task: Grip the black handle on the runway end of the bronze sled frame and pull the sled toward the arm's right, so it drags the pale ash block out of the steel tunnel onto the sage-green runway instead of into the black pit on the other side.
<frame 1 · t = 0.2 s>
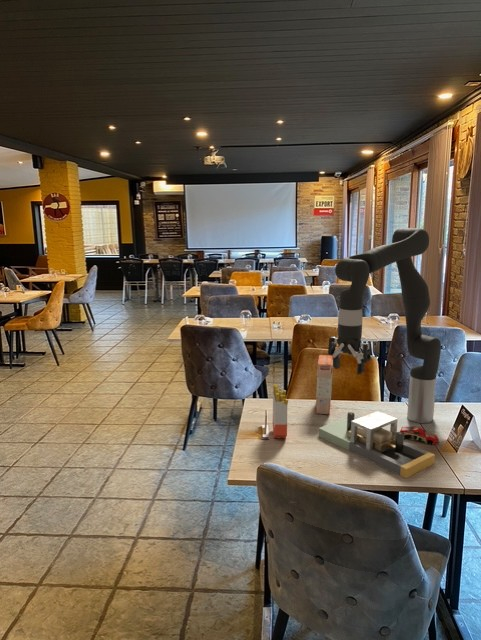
hand: (348, 371, 155), 28 cm above the table, tool pointing down, fingers open, 8 cm apart
race car: (418, 440, 169), on the table
ash block: (373, 435, 161), on the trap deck, point 5 cm above the table
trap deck: (372, 448, 162), on the table
steel tunnel: (374, 430, 161), on the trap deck, point 7 cm above the table
sled frame: (373, 431, 161), point 6 cm above the table, slide at 0.0 cm
cracker box: (323, 408, 197), on the table
french fries container: (279, 435, 173), on the table
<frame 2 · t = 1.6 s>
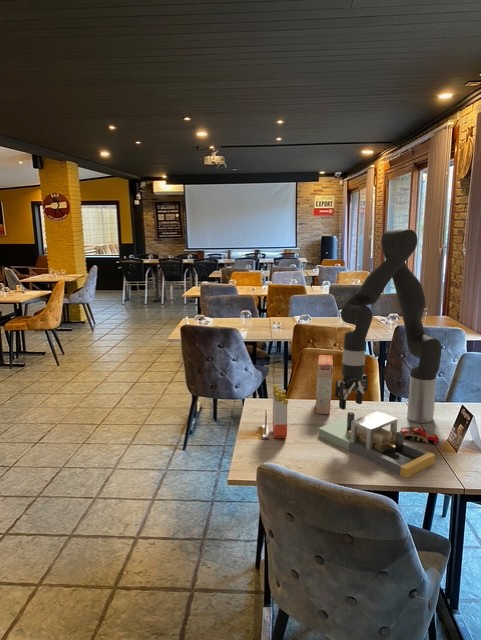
hand: (350, 406, 168), 12 cm above the table, tool pointing down, fingers open, 8 cm apart
nothing on the table moved.
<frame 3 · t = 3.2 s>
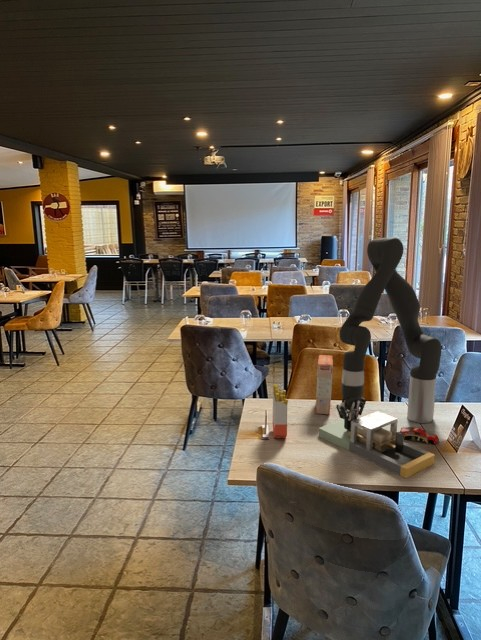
hand: (350, 428, 169), 4 cm above the table, tool pointing down, fingers closed on sled frame, 2 cm apart
sled frame: (373, 431, 161), point 6 cm above the table, slide at 0.0 cm, touching gripper
everything else where it was.
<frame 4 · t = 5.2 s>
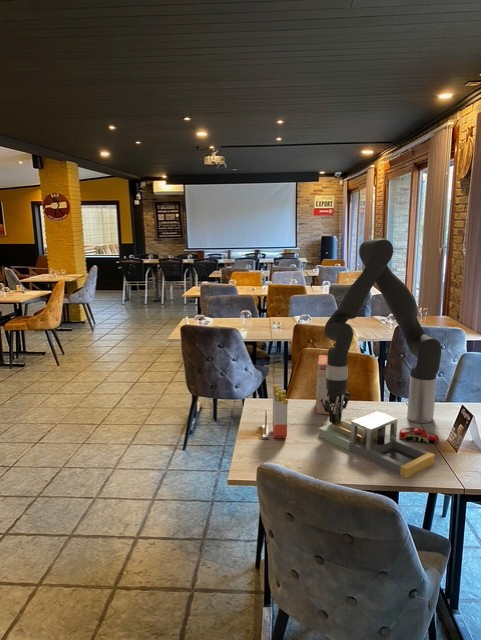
hand: (335, 421, 175), 4 cm above the table, tool pointing down, fingers closed on sled frame, 2 cm apart
ash block: (358, 428, 166), on the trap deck, point 5 cm above the table
sled frame: (357, 424, 166), point 6 cm above the table, slide at 7.0 cm, touching gripper
everything else where it was.
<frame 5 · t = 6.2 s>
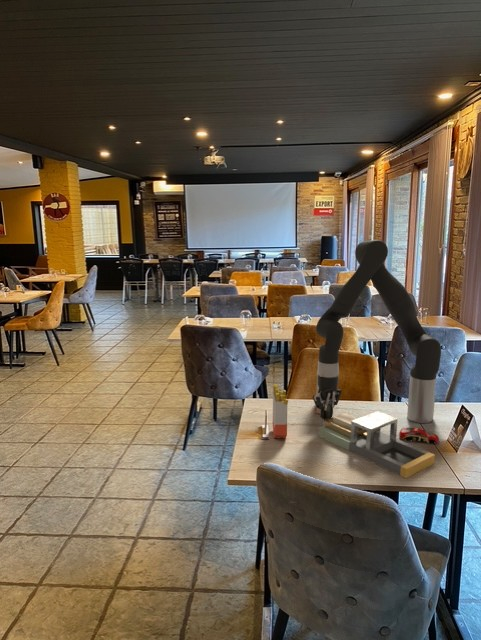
hand: (326, 417, 178), 4 cm above the table, tool pointing down, fingers closed on sled frame, 2 cm apart
ash block: (349, 424, 169), on the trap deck, point 5 cm above the table, touching sled frame
sled frame: (348, 420, 170), point 6 cm above the table, slide at 11.2 cm, touching ash block, gripper
everything else where it was.
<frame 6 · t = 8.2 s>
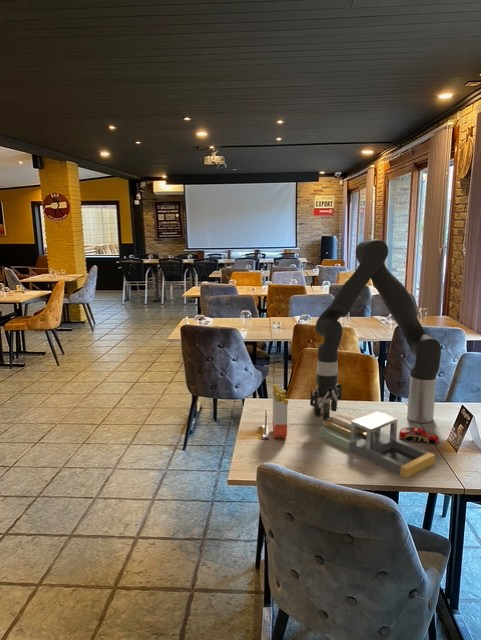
hand: (325, 413, 178), 5 cm above the table, tool pointing down, fingers open, 8 cm apart
sled frame: (347, 420, 170), point 6 cm above the table, slide at 11.5 cm, touching ash block
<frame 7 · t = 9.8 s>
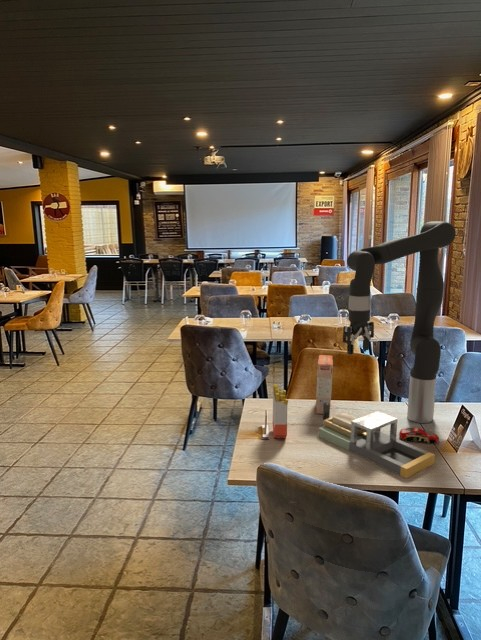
hand: (358, 352, 173), 29 cm above the table, tool pointing down, fingers open, 8 cm apart
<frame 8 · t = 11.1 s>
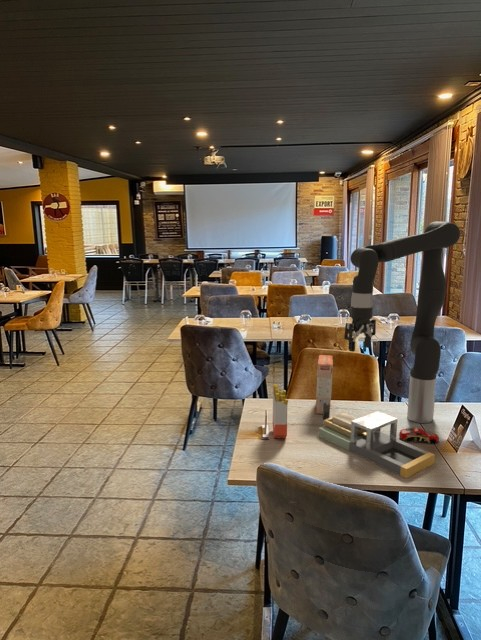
hand: (359, 349, 173), 30 cm above the table, tool pointing down, fingers open, 8 cm apart
at the end: ash block inside the target area (2.7 cm from its centre), point 5.0 cm above the table; sled frame slide at 11.5 cm; ash block tilted 0° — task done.
